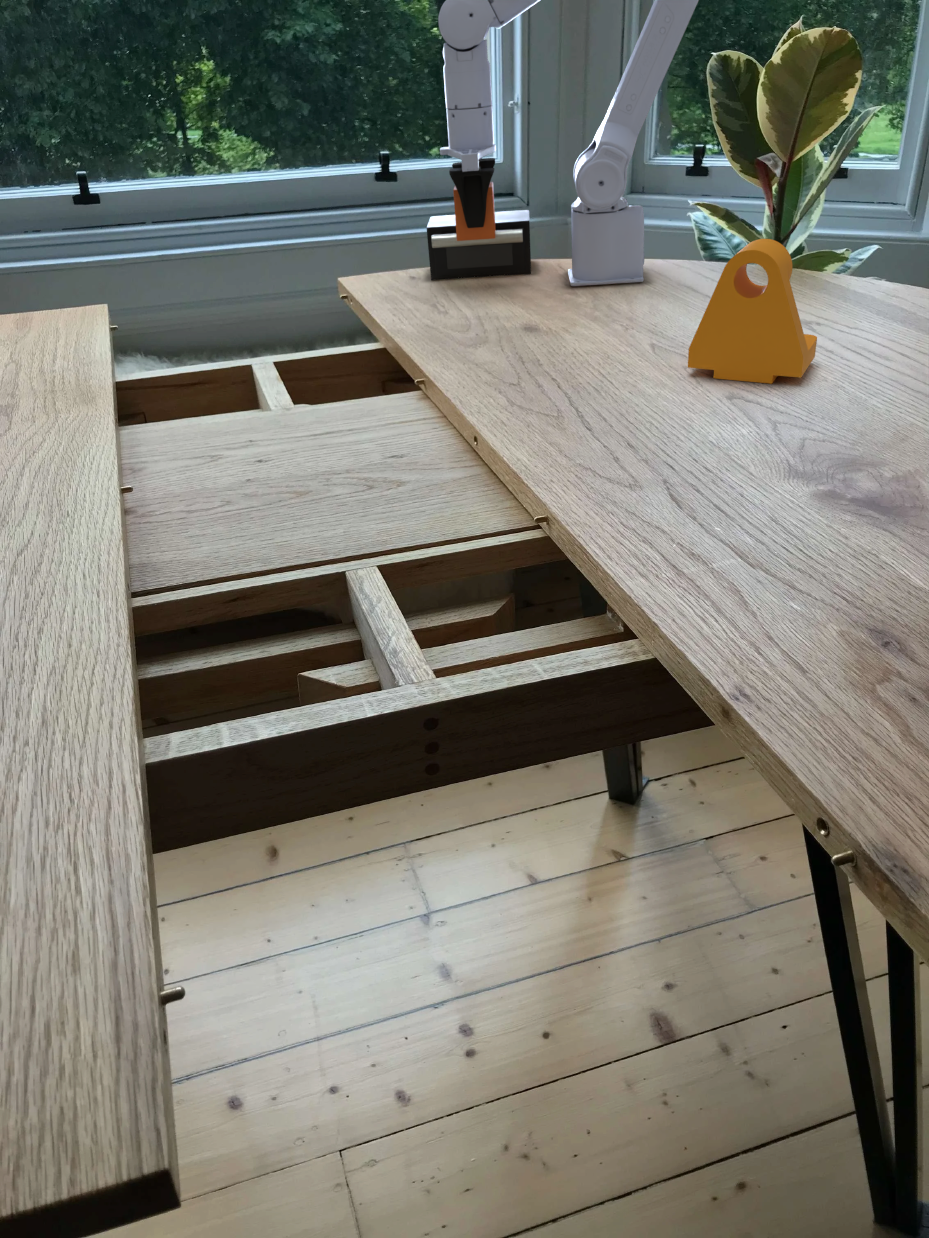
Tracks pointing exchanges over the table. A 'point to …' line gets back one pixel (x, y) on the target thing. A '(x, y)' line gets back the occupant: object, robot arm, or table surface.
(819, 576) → the table surface
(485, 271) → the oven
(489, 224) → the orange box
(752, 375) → the bracket
